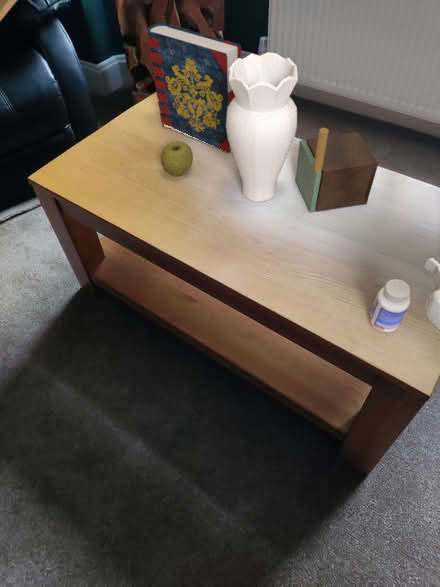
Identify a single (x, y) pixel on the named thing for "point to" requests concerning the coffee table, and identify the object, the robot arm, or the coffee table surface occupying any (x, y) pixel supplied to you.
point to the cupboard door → (311, 169)
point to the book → (193, 81)
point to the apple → (176, 158)
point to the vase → (261, 120)
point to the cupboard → (344, 172)
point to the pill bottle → (390, 306)
